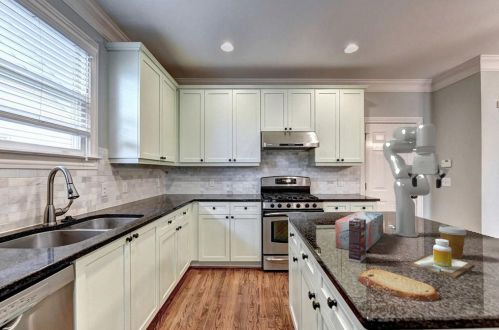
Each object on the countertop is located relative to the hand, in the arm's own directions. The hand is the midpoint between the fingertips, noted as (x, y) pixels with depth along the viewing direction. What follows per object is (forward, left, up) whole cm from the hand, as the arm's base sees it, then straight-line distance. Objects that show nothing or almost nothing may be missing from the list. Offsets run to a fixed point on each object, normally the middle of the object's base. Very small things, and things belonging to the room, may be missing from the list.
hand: (426, 187), depth 121 cm
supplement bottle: (+14, -24, -28) cm, 39 cm away
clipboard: (+12, -20, -28) cm, 37 cm away
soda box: (-25, -13, -29) cm, 40 cm away
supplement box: (-10, -40, -28) cm, 50 cm away
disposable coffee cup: (+11, -3, -28) cm, 31 cm away
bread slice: (+11, -54, -29) cm, 62 cm away
